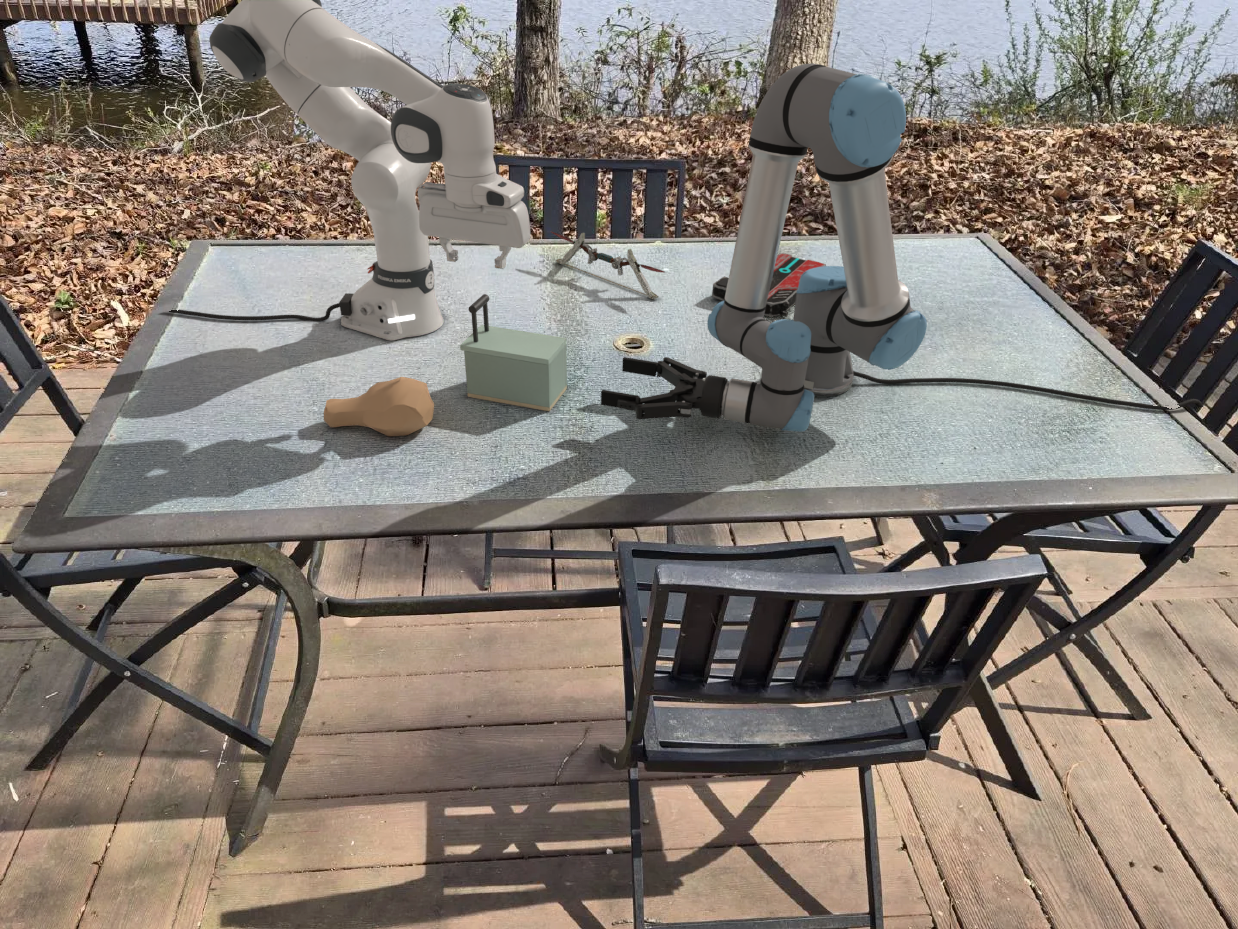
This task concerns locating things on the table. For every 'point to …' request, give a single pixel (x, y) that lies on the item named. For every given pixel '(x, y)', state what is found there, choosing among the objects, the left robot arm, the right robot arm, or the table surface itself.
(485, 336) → the lid
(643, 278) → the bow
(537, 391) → the chest
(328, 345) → the table surface
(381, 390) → the squash
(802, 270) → the gun
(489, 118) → the left robot arm
